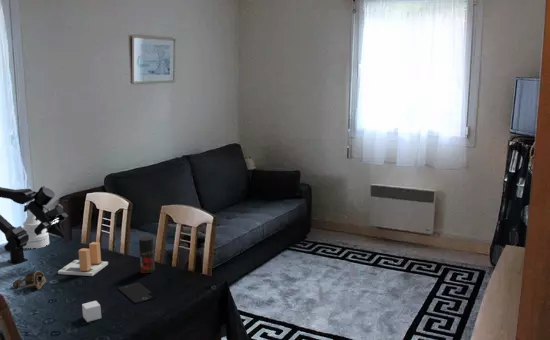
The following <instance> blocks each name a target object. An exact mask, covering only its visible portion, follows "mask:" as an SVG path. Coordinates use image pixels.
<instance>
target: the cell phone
mask: <svg viewBox="0 0 550 340" xmlns="http://www.w3.org/2000/svg"><path fill="white" fill-rule="evenodd" d="M118 290H119V291H120V292H121V293H122V294H123V295H126V298H127V299H129V300H130V301H131V302H132V303H134V304H135V305H136V304H137V303H138V304H140V302H141V303H143V302H142V301H145V302H147V301H146V300H148V299H150V298H151V297H152V296H150V295H148V294H149V293H151V292H152V291H150V290H149V289H148V288H146V286H144V285H143V284H141V283H140V282H135V283H130V284H127V285H122V286H118ZM138 304H137V305H138Z"/></svg>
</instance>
